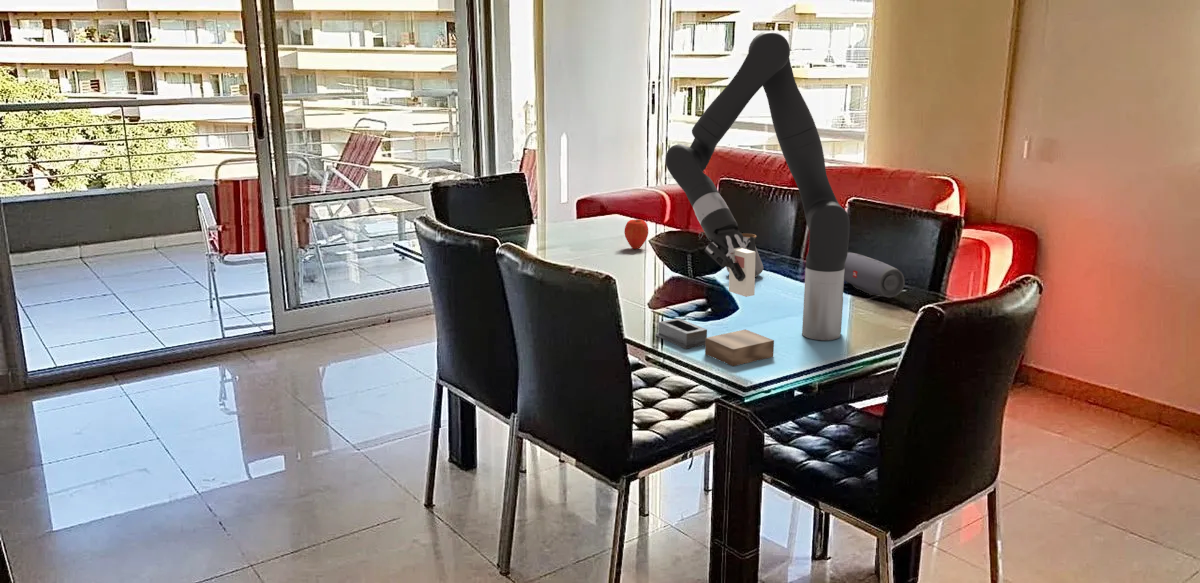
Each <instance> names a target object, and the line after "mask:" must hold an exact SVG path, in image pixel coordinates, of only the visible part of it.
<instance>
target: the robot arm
mask: <svg viewBox="0 0 1200 583" xmlns="http://www.w3.org/2000/svg"><path fill="white" fill-rule="evenodd" d="M790 48H791V47H790V44H789V42H788V40H787V39H786V38H785V37H784V35H782V34H780V33H778V32H775V31H763V32H760V33H758V34H757V35H756V36H754V37H753V39H752V41H750V44H749V46H748V52H747V55H746V56H745V59H744V60H743V63H742V64H741V66H740V68H739V69H738V71H737V72H736V74H735V75H734V77H733V78H732V79H731V81H730V82H729V83H728V84H727V85H726V87H725V88H724V89H723V90H722V91H721V92H720V93H719V94H718V95H717V97H716V98H714V100H713V101H712V102H711V103H710V104H709V106H708V107H707V108H706V109H705V111H704V112H703V113H702V114H701V116H699V118H698V120H697V121H696V122H695V124H694V126H693V127H692V129H691V134H692V136H693V138H694V139H693V141H692V142H691V144H690V147H689V146H687V145H685V144H681V143H677V144H675V145H672V146H670V147H669V149H668V150H667V151H666V154H665V165H666V168H667V171H668V172H669V174H670V175H671V177H672V178H673V180H674V181H675V182H676V183H677V185H678V186H679V187H680V189H682V191H683V192H684V193H685V195H686V197H687V199H688V202H689V203H690V205H691V207H692V209H693V211H694V215H695V217H696V219H697V221H698V222H699V224H700V226H701V228H702V231H703V232H705V234H706V235H705V237H706V236H707V237H706V238H707V239H708V240H709V241H710V243H709V244H708V245H707V246H706V247H705V249H704V253H706V254H707V255H708V256H709V258H711V260H713V261H715V263H716V264H718V265H719V266H720V267H721V268H726V267H728V268H730V269H731V271H732V272H733V274H734V276H735V278H736V279H738V281H743V280H744V278H745V274H744V272H743V270H742V268H741V267H740V265H739V263H737V259H736V257H735V251H734V248H743V249H747V250H751V251H754V252H756V249H757V248H756V249H755V246H756V241H755V240H756V238H755V239H754V237H752V236H751V237H750V238H746V237H743V235H742V234H743V233H742V232H740V230H739V228H738V227H739V226H738V222H737V221H736V218H734V215H733V213H732V211H731V210H730V207H729V205H727V202H726V201H725V199H724V198H723V197H722V196H721V194H720V192H719V190H718V188H717V187H716V185H715V183H714V181H713V180H712V179H711V177H709V176H708V175H707V174H706V173H704V171H705V170H706V169H707V167H708V164H709V162H710V161H711V159H712V157H713V154H714V152H715V150H716V147H717V145H718V144H719V142H720V141H721V140H722V139H723V137H725V134H727V133H728V131H729V130H730V129H731V127H732V126H733V125H734V123H735V121H737V118H738V117H739V116H740V114H741V113H742V112H743V110H744V109H745V107H746V106H747V105H748V104H749V102H750V101H751V100H752V98H753V97H754V96H755V95H756V94H757V92H758V91H759V90H761V88H762V87H763V90H764V92H765V96H766V98H767V103H768V106H769V112H770V117H771V121H772V125H773V129H774V131H775V132H774V133H775V135H776V139H777V141H778V144H779V147H780V150H781V152H782V153H781V154H782V155H783V157H784V160H785V162H786V165H787V168H788V169H789V171H790V173H791V176H792V177H793V179H794V181H795V184H796V186H797V189H798V192H799V195H800V199H801V203H802V208H803V211H804V218H805V221H806V225H807V228H808V230H809V239H808V240H809V243H808V252H807V255H806V256H805V272H804V273H805V274H804V289H803V290H804V292H803V308H802V309H803V311H802V312H803V313H802V325H801V326H802V327H801V332H802V333H801V334H802V336H803V337H806V338H807V339H809V340H815V341H816V340H817V341H832V340H833V341H834V340H838V339H839V338H841V333H842V325H843V324H842V322H843V309H844V308H843V307H844V306H843V305H844V287H845V286H844V285H845V280H844V270H845V261H846V258H847V254H848V252H849V245H850V244H849V243H850V242H849V241H850V230H851V229H850V228H851V226H850V225H851V224H850V223H851V222H850V221H851V220H850V216H849V214H848V212H847V210H845V208H843V207H842V206H841V204H840V202H838V199H837V198H836V197H837V196H835V195H836V194H835V193H834V191H833V189H832V186H831V183H830V181H829V179H828V175H827V170H826V162H825V154H824V150H823V144H822V141H821V137H820V134H819V132H818V129H817V126H816V122H815V120H814V117H813V116H812V113H811V111H810V109H809V107H808V105H807V103H806V101H805V99H804V97H803V95H802V93H801V91H800V89H799V87H798V85H797V83H796V79H795V76H794V71H793V68H792V64H791V60H790V57H791V56H790V55H791V49H790ZM755 257H756V255H755ZM756 273H757V272H756V270H755V276H756Z"/></svg>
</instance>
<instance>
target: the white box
mask: <svg viewBox="0 0 1200 583" xmlns="http://www.w3.org/2000/svg"><path fill="white" fill-rule="evenodd" d="M734 251H735V257H736V259H737V263H739V265H740V267H741V268H742V270H743V272H744V274H745V278H744V280H743V281H738V279H736V278H735V276H734V274H733V272H732V271H731V269H730V268H729V272H728V276H729V277H728V292H730V293H733V294H737V295H740V296H742V297H752V296H755V292H756V291H755V290H756V286H755V284H756V278H755V255H756V252H754V251H751V250H747V249H743V248H734Z"/></svg>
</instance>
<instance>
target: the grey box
mask: <svg viewBox="0 0 1200 583" xmlns="http://www.w3.org/2000/svg"><path fill="white" fill-rule="evenodd" d="M655 336H656V337H657V338H660V339H662V340H664V341H665V342H666V341H667V342H668V343H671V344H673V345H674V346H677V347H680V348H683V349H684V350H688V349H692V348H697V347H702V345H703V346H705V339H706V338H707V337H708V329H706V328H704V327H701V326H700V325H697V324H694V323H692V322H690V321H687V320H684V319H682V318H679V317H678V318H677V317H676V318H673V319H668V320H667V319H666V320H663V321H658V332H656V333H655Z"/></svg>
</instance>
